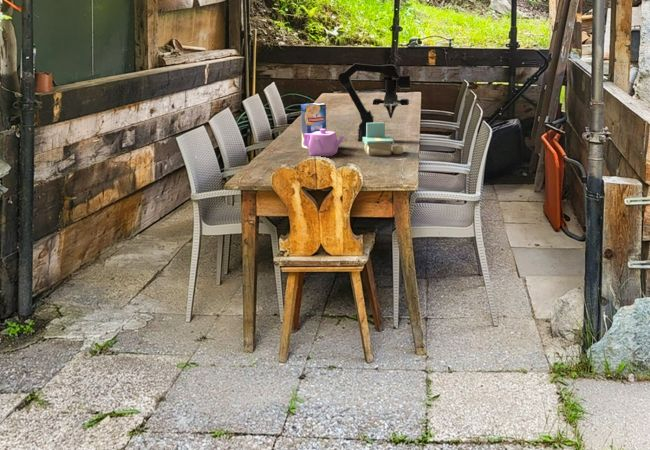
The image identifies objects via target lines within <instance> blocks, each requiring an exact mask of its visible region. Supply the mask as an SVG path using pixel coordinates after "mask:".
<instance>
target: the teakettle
mask: <svg viewBox="0 0 650 450" xmlns="http://www.w3.org/2000/svg"><path fill="white" fill-rule="evenodd" d="M309 137H310V139H309ZM345 137H346V136H345V135H340V136H339V138H338V137H337V133H336V131H329V130H328V131H327V128H326V129H320V131H316V132H314V133H312V134H304V144H303V145H305V146H306V147H308V154H309V156H313V157H332V156H334V155H336V154H337V153H338V150H339V146H341V144H342V142H343V141H344V139H345ZM337 138H338V139H337Z"/></svg>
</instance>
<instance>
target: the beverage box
mask: <svg viewBox="0 0 650 450" xmlns="http://www.w3.org/2000/svg"><path fill="white" fill-rule="evenodd" d="M300 118H301V119H300V121H301V122H300V123H301V128H300V129H301V147H302V148H305V149H308V147H306V146H305V145H303V144H304V134H312V133H314V132H316V131H320V129H326V130H327V104H326V103H322V102H316V103H315V102H314V103H301V104H300ZM309 139H310V137H309Z"/></svg>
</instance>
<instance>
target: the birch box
mask: <svg viewBox="0 0 650 450" xmlns="http://www.w3.org/2000/svg"><path fill="white" fill-rule="evenodd" d="M363 143H364V142H363ZM363 146H364V147H363V148H364V149H363V150H364V152H365V153H366V155H368V157H369V156H370V157H371V156H372V155H373V156H392V144H391V142H385V143H369V146H367V145H366V144H365V143H364V144H363Z"/></svg>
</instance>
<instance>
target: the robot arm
mask: <svg viewBox="0 0 650 450" xmlns="http://www.w3.org/2000/svg"><path fill="white" fill-rule="evenodd" d="M357 72H367V73H378V74H382V75H384V76H383V78H381V80H382V81H385V94H384V98H383V99H382V98H374V99H373V100H372V105H373V106H374V105H375V106H378V105H380V104H383V107H385V109H386V110H387V113H388V116H389V119H392V118H393V115H394V112H395V109H396V108H397V107H398V106H399V105H400V106H408V105H409V104H410V99H409V98H401V99H398V94H397V87H399V89H400V90H402V89H407V90H408V89H411V75H408V74H407V75H400V73H398V71H397V66H395V65H394V64H383V65H382V64H381V65H378V64H366V63H357V62H355V63H353V64H352V65H351V66H350V67H349V68H348V69H347V70H346V71H341V72H340V73H339V74H338V76H337V80H338V82H339V83H340V84H341V86H342V87H343V88H344V89H345V90H346V91H347V93H348V94H349V97H350V98H351V101H352V102H353V104H354V105H355V108H356V110H357V111H358V113H359V116H360V119H361V122H360V123H359V125H358V128H357V129H358V130H357V132H358V134H357V135H358V136H357V142H363V137H366V123H374V120H375V119H374V118H375V116H374V115H373V114H372V111H371V110H367V108H366V107H365V105H364V104H363V102H362V100H361V98H360V96H359V94H358V93H357V91H356V89H355V88H354V86H353V82H352V79H351V77H352V76H353V75H354V74H355V73H357Z"/></svg>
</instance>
